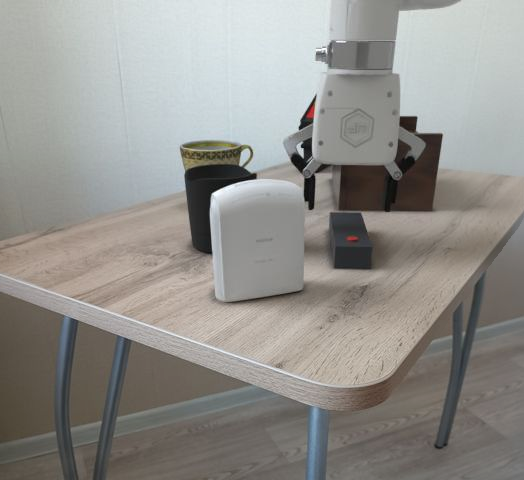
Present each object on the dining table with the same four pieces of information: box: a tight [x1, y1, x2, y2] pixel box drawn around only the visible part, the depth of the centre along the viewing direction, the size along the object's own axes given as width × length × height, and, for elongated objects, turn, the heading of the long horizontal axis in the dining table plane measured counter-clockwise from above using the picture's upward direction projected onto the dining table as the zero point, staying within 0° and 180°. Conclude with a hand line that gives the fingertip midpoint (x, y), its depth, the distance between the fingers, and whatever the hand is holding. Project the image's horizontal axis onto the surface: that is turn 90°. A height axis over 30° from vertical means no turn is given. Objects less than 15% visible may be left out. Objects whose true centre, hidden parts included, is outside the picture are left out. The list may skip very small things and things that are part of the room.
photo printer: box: [210, 178, 306, 303], centre depth 59 cm, size 10×4×12 cm, turn 109°
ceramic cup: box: [179, 139, 254, 173], centre depth 92 cm, size 13×10×10 cm
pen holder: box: [183, 164, 258, 255], centre depth 74 cm, size 9×9×10 cm
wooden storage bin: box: [331, 115, 444, 212], centre depth 97 cm, size 15×22×14 cm
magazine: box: [297, 92, 332, 174], centre depth 117 cm, size 4×13×15 cm, turn 155°
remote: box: [328, 211, 374, 270], centre depth 74 cm, size 4×15×3 cm, turn 176°
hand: (348, 208), depth 72 cm, fingers open, 9 cm apart
